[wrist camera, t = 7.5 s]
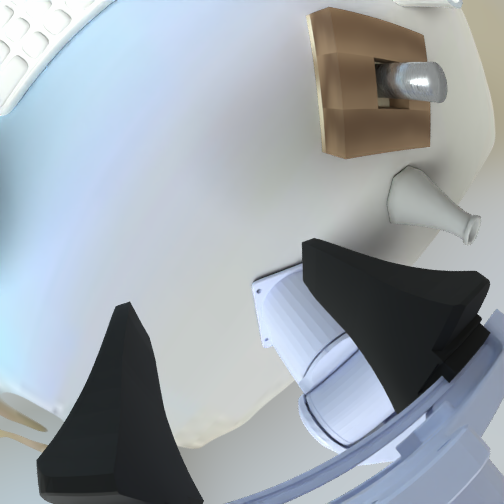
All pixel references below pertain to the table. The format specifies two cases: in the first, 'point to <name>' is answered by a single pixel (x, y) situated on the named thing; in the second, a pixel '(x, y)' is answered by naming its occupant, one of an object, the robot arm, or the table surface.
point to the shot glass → (430, 3)
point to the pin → (411, 81)
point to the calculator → (36, 39)
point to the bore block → (364, 84)
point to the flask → (428, 206)
